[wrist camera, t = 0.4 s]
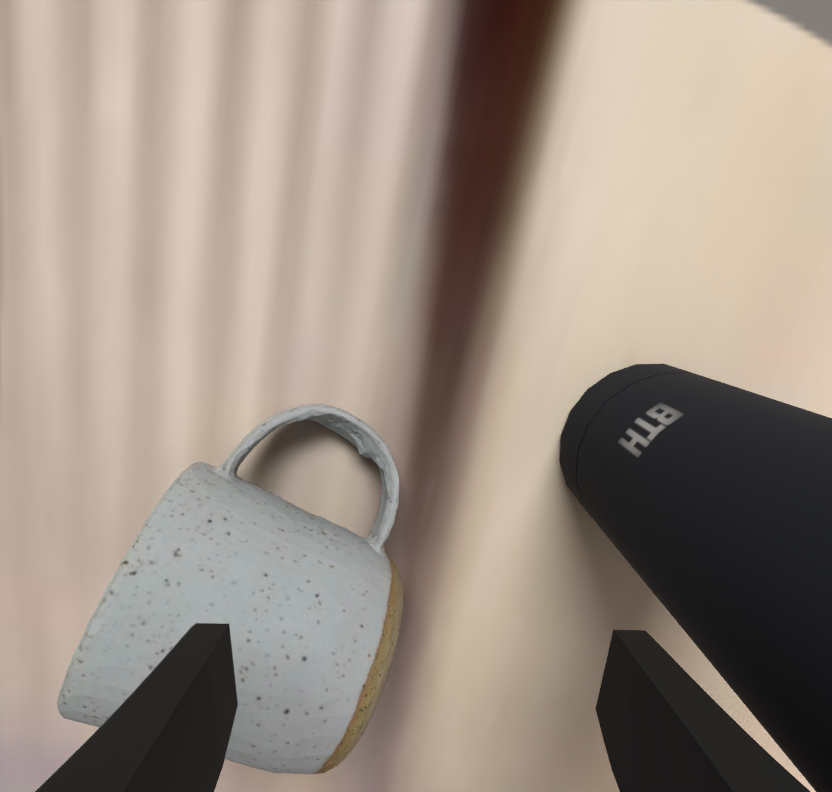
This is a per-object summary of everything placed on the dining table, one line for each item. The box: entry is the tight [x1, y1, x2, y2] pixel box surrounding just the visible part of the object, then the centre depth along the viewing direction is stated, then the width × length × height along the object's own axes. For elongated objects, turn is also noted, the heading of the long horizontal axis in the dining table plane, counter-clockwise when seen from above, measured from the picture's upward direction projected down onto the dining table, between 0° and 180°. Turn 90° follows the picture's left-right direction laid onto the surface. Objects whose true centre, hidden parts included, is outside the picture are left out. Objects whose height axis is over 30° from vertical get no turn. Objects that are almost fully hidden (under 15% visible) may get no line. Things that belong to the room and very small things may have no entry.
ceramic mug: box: [57, 404, 403, 774], centre depth 17 cm, size 11×8×8 cm
